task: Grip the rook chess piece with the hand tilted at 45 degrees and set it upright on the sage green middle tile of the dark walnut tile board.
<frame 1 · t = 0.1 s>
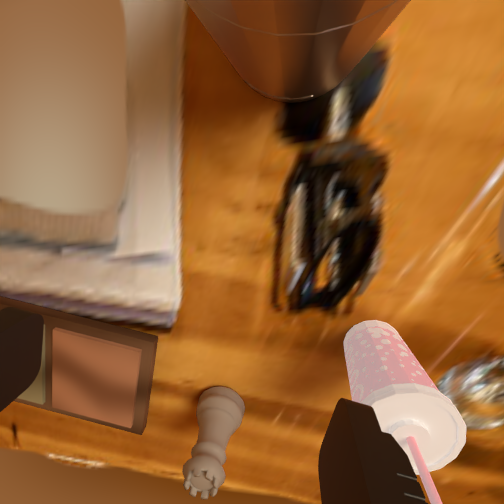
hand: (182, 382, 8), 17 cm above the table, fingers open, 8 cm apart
beverage cup: (371, 342, 27), on the table
rook chess piece: (222, 400, 31), on the table
tile board: (13, 348, 31), on the table
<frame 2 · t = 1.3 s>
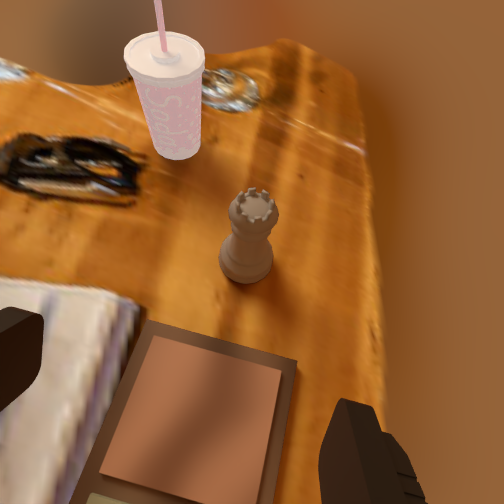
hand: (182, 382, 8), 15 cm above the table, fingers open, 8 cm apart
beverage cup: (177, 144, 33), on the table
rook chess piece: (245, 262, 27), on the table
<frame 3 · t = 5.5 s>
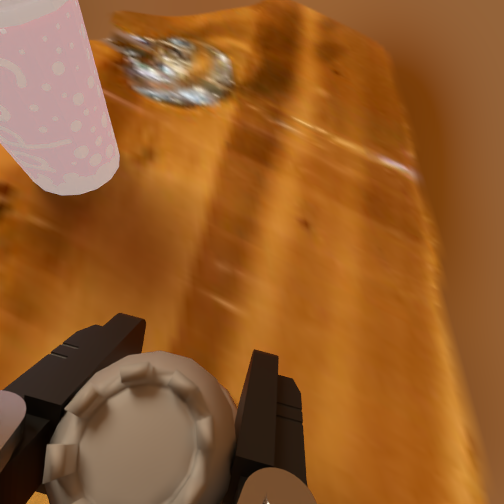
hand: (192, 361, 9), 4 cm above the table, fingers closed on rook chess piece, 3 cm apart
beverage cup: (77, 165, 18), on the table
rook chess piece: (182, 436, 12), on the table, touching gripper
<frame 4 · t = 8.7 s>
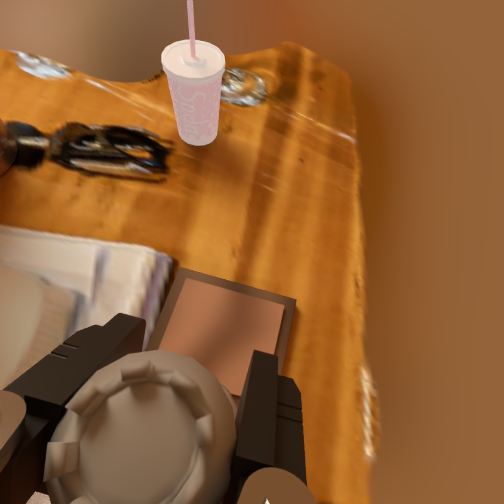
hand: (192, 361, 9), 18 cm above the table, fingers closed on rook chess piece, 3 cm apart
beverage cup: (198, 133, 39), on the table
rook chess piece: (183, 436, 12), point 14 cm above the table, touching gripper
tile board: (185, 459, 23), on the table
when the fingers open (6 cm above the table, at t = 11.8 s): rook chess piece stays where it is, resting on tile board.
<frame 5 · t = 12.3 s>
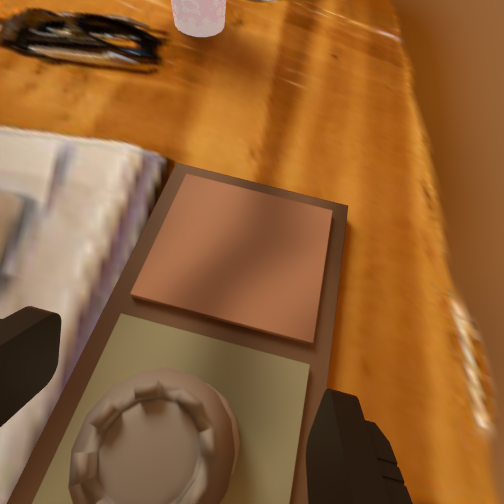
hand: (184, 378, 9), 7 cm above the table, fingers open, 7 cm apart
beverage cup: (199, 25, 30), on the table
rook chess piece: (183, 440, 13), point 1 cm above the table, touching tile board
tile board: (187, 435, 14), on the table
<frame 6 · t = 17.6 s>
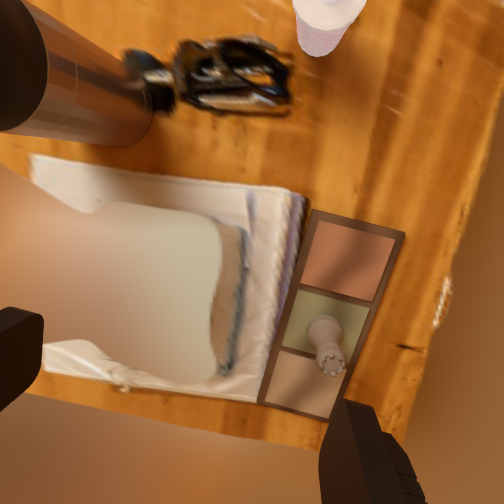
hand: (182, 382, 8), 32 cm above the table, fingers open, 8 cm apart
beverage cup: (319, 33, 34), on the table
rook chess piece: (323, 328, 41), point 1 cm above the table, touching tile board
tile board: (323, 322, 42), on the table
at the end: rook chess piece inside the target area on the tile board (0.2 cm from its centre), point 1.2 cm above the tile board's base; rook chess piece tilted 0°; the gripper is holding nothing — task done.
